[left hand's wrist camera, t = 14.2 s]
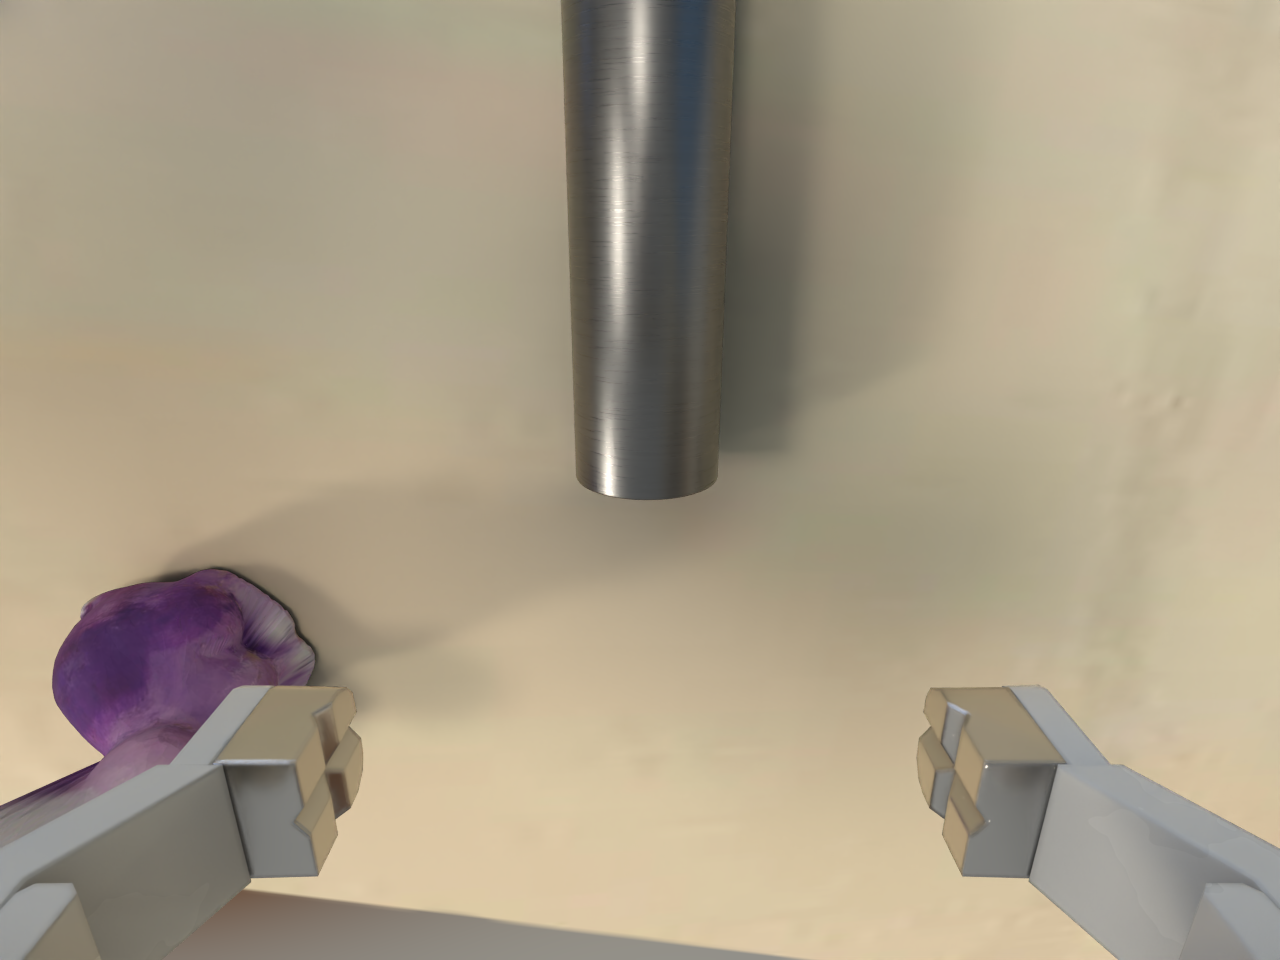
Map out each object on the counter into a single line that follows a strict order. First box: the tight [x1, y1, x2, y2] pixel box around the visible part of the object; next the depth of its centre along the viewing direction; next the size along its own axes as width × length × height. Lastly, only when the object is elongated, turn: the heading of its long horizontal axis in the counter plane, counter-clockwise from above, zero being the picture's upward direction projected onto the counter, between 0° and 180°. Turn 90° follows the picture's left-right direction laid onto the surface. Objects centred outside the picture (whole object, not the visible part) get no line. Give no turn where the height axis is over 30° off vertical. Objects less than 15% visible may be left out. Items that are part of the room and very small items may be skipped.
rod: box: [561, 0, 736, 500], centre depth 27 cm, size 27×6×6 cm, turn 0°
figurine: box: [0, 569, 315, 848], centre depth 31 cm, size 9×10×15 cm
